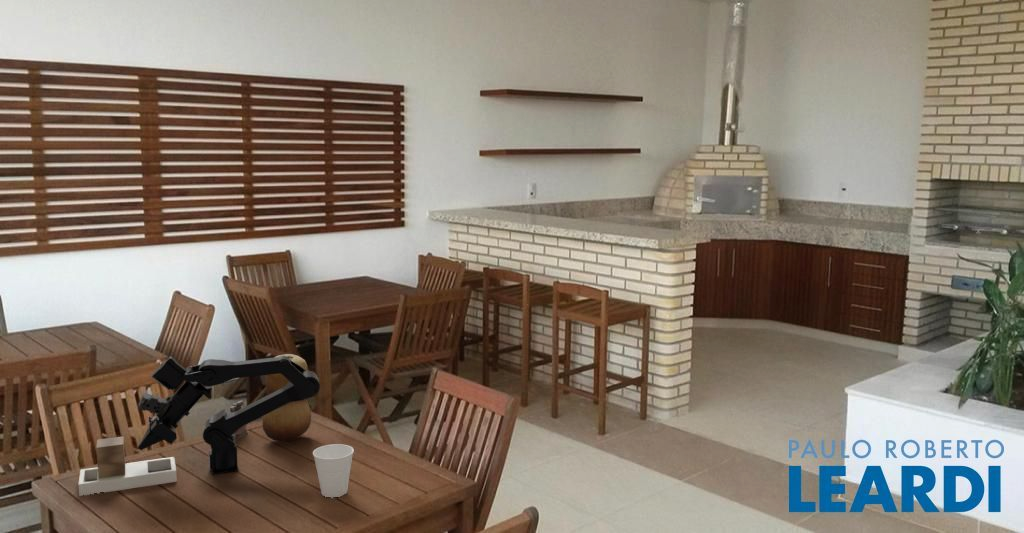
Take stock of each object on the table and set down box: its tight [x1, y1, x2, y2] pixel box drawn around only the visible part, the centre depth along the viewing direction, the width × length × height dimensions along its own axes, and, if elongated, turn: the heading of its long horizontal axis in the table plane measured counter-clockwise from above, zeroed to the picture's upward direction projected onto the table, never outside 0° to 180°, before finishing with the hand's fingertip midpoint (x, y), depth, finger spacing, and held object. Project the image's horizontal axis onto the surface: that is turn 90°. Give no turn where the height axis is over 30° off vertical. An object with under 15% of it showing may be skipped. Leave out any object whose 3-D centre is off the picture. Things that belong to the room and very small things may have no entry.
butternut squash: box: [262, 353, 312, 442], centre depth 238 cm, size 14×13×25 cm
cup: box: [312, 443, 355, 499], centre depth 203 cm, size 10×10×11 cm
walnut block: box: [95, 436, 126, 479], centre depth 207 cm, size 6×6×8 cm
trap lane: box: [77, 456, 178, 497], centre depth 209 cm, size 22×10×3 cm, turn 115°
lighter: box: [229, 400, 248, 441], centre depth 241 cm, size 8×3×10 cm, turn 168°
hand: (139, 448), depth 209 cm, fingers closed
